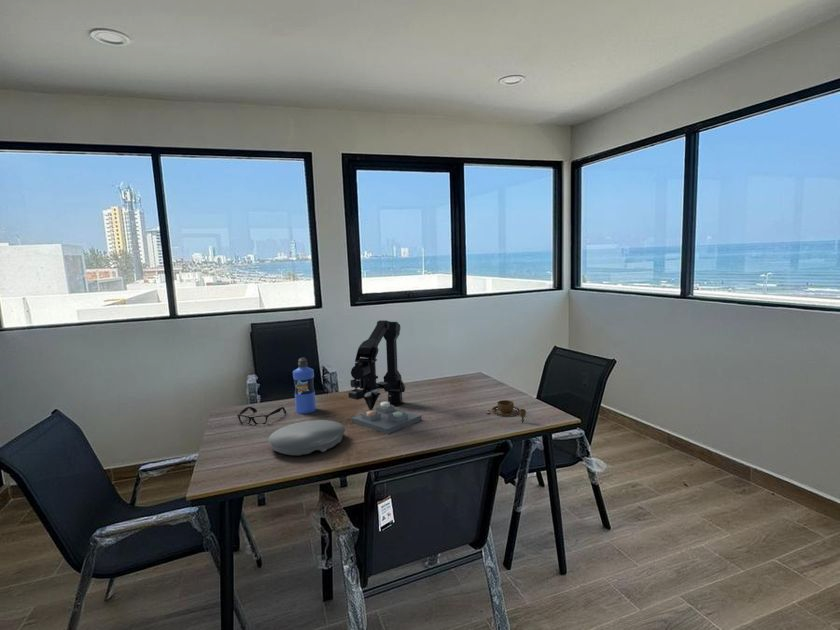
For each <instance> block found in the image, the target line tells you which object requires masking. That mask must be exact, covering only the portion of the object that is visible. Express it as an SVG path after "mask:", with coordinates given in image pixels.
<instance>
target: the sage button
mask: <svg viewBox="0 0 840 630" xmlns="http://www.w3.org/2000/svg"><path fill="white" fill-rule="evenodd" d="M401 415H403V412H399V411H398V412H394V413H393V416H396V417H399V416H401Z"/></svg>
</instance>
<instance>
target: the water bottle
mask: <svg viewBox="0 0 840 630" xmlns="http://www.w3.org/2000/svg"><path fill="white" fill-rule="evenodd" d="M297 361H298V362H297V366H298V367H297V368H296V369H294V370H293V371H292V377H293V383H294V387H295V388H294V401H295V403H294V404H295V412H296V414H300V415H301V414H302V415H306V414H311V413H314V412H316V410H317V407H316V392H315V388H314V378H315V370H314V369H313V368H311V367H309V366H308V365H309V364H308V360H307V358H305V357H300V358H298V360H297Z"/></svg>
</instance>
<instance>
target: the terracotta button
mask: <svg viewBox="0 0 840 630" xmlns="http://www.w3.org/2000/svg"><path fill="white" fill-rule="evenodd" d="M365 412H366V415H369V416H372V415H375V414H376V411H371V410H368V411H365Z"/></svg>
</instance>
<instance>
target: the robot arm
mask: <svg viewBox="0 0 840 630" xmlns="http://www.w3.org/2000/svg"><path fill="white" fill-rule="evenodd" d="M400 332H401V324H400V323H399V322H398V321H391V320H390V321H389V320H384V319H383V320H377V321H376V325H375V327H374V329H373V330H372V332H371V334H370V335H369V337H368V338H367V339H366V340H364V341H362V342H361V344H360V345H359V346H358V349H357V352H356V355H355V359H354V362H355V363H354V366H353V367H351V369H350V375H351V377H352V378H353V379H351V380H350V387H351V388H352V389H351V390H349V391H348V395H347V396H348V398H349V399H353V400H355V401H357V400H362V399H363V400H364V401H365V403H366V405H367V408H368V411H371V410H374V407H375V405H376V402H377V401H378V398H379V396H380V395H381V392H379V390H382V389H383V390H384V392H386V393H387V402H390V405H393V406H395V407H397V406H401V405H403V404H405V401H403V393H404V392H406V385H405V383H404V382H403V380H402V375H401V373H400V372H399V370H398V347H397V344H398V343H397V339H398V338H399V336H400ZM382 339H384V340H385V347H386V350H385V351H386V369H387V370H386V371H387V372H386V373H385V374H384V375H383V381H379V382H377V379H379V376H378V375H377V372H376V369H377V368H376V366H377V365H376V362H377V361H378V359H377V356H378V353H379V351H380V350H379V344H380V342H381V341H382ZM353 388H354V389H353Z"/></svg>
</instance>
